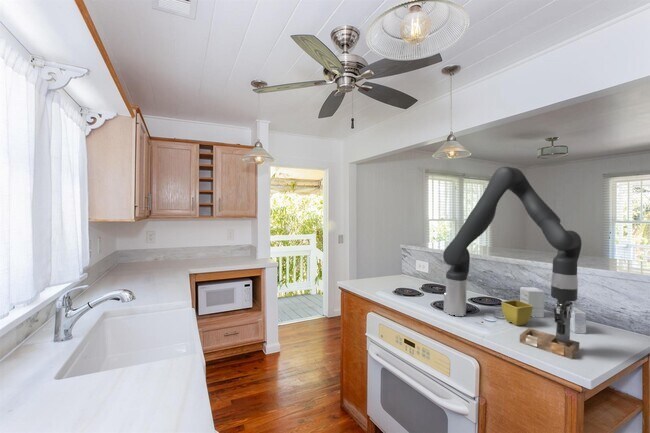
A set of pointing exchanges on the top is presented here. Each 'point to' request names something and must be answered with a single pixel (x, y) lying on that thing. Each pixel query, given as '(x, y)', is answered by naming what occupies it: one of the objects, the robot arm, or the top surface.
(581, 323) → the medicine box
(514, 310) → the flower pot
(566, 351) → the socket block
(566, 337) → the plug
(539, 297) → the supplement box
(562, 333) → the robot arm
